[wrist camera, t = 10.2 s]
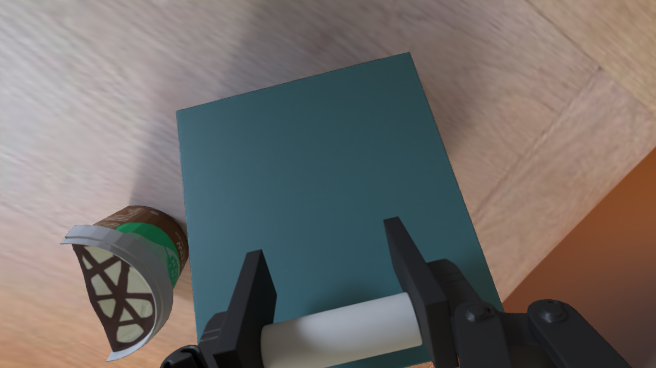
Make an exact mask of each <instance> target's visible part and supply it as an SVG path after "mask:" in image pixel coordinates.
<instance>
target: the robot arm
mask: <svg viewBox="0 0 656 368" xmlns="http://www.w3.org/2000/svg"><path fill="white" fill-rule="evenodd" d="M383 222H384V227H385V232H386V237H387V241H388V246H389V251H390V256H391V261H392V265H393V269H394V271H395V274H396V276H397V279H398V281H399V283H400V286H401V288H402V290H403V293H404V292H406V293H408V294H409V296H410V298H411V300H412V303H413V305H414V308H415V311H416V314H417V318H418V321H419V325H420V329H421V334H422V338H423V340H424V343H425V345H426V348H427V350H428V352H429V355H430V357H431V360H432V362H433V364H434V367H435V368H457V367H459V363H458V358H459V361H460V368H632V367H631V366H630V365H629V364H628V363H627V362H626V361H625V360H624V359H623V358H622V357H621V356H620V355H619V354H618V353H617V351H615V350H614V348H612V346H611V345H610V344H609V343H608V342H607V341H606V340H605V339H604V338H603V337H602V336H601V335H600V334H599V333H598V332H597V331H596V330H595V329H594V328H593V327H592V326H591V325H590V324H589V323H588V322H587V321H586V320H585V319H584V318H583V317H582V316H581V315H580V314H579V313H578V312H577V311H576V310H575V309H574V308H573V307H571V306H570V305H569V304H566V303H563V302H561V301H557V300H551V299H545V300H538V301H535V302H533V303H532V304H531V305H529V307H528V311H527V313H505V312H501V311H498V310H497V309H496V307H494V306H493V305H492V304H490V303H488V302H485V301H482V299H481V298H480V297H479V295H478V294H477V293H476V291H475V290H474V289H473V287H472V286H471V285H470V283H469V282H468V281H467V279H465V277H464V275H463V274H462V273H461V271H460V270H459V269H458V267H457V266H456V265H455V264H454V263H453V262H451V261H449V260H447V259H445V258H444V259H440V260H436V261H432V262H427V263H426V261H425V260H424V258H423V256H422V255H421V253H420V251H419V250H418V248H417V246H416V245H415V243H414V241H413V240H412V238H411V236H410V235H409V233H408V231H407V230H406V228H405V226H404V225H403V223H402V221H401V220H400V218H399V216H397V217H393V218H388V219H384V220H383ZM276 301H277V293H276V290H275V287H274V284H273V281H272V278H271V275H270V272H269V269H268V266H267V263H266V260H265V257H264V254H263V251H262V249H259V250H255V251H251V252H247V254H246V257H245V259H244V262H243V265H242V268H241V271H240V274H239V277H238V280H237V283H236V286H235V289H234V292H233V295H232V298H231V301H230V304H229V306H228V309H227V311H224V312H219V313H215V314H214V315H213V316H212V318H211V319H210V320H209V321H208V322H207V324H206V326H205V329H204V331H203V335H202V336H201V338H200V342H199V343H198V346H197V345H187V346H184V347H181V348H179V349H177V350H176V351H174V352H173V353H171V354H170V355H169V356H168V357H166V359H165V360H164V361H163V363H162V364H161V366H160V368H264V366H263V361H262V356H261V346H260V339H261V331H262V328H263V327H264V326H265V325H269V324H273V322H274V315H275V308H276ZM457 356H458V357H457Z"/></svg>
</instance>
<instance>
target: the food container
mask: <svg viewBox="0 0 656 368" xmlns="http://www.w3.org/2000/svg"><path fill="white" fill-rule="evenodd" d="M65 238H66V239H65V240H64V241H62V242H61V243H60V244H72V247H73V250H74V251H75V253H76V255H77V258H78V260H79V263H80V266H81V269H82V272H83V275H84V279H85V283H86V288H87V292H88V295H89V299H90V302H91V304H92V306H93V308H94V310H95V312H96V314H97V316H98V317H99V319H100V321H101V323H102V325H103V327H104V330H105V332H106V335H107V338H108V340H109V343H110V346H111V348H112V352H111V354H110V356H109V357H108V359H107V361H106V362H109V361H114V360H118V359H121V358H123V357H126V356H128V355H130V354H132V353H134V352H135V351H136V350H138V349H140V348H141V347H143V346H144V345H145V344H147V343H148V342H149V341H150V340H151V339H152V338H153V337H154V336H155V335H156V334H157V332H158V331H159V330H160V329H161V328H162V327H163V326H164V324H165V323H166V321H167V320H168V318H169V315H170V313H171V310H172V305H173V289H174V287H175V285H176V282H177V280H178V278H179V276H180V274H181V271H182V269H183V267H184V265H185V262H186V260H187V258H188V249H189V246H188V241H187V238H186V235H185V233H184V232H183V230H182V228H181V227H180V226H179V224H178V223H177V222H176V221H175V220H174V219H172V218H171V217H170V216H168V215H167V214H165V213H163V212H161V211H159V210H156V209H154V208H150V207H145V206H128V207H126V208H124V209H122V210H120V211H118V212H116V213H114V214H112V215H111V216H109V217H107V218H105V219H103V220H101V221H99V222H97V223H95V224H93V225H75V226H74V227H73V228H72V229H71V230H70V231H69V232H68V233H67V234H66V235H65Z"/></svg>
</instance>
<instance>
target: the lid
mask: <svg viewBox="0 0 656 368" xmlns="http://www.w3.org/2000/svg"><path fill="white" fill-rule="evenodd" d="M176 116H177V127H178V138H179V148H180V159H181V170H182V181H183V191H184V202H185V213H186V224H187V234H188V245H189V256H190V267H191V277H192V288H193V299H194V310H195V320H196V331H197V342H198V343H199V342H200V338H201V336H202V335H203V331H204V329H205V326H206V324H207V322H208V321H209V320H210V319H211V318H212V316H213V315H214V314H215V313H219V312H224V311H227V309H228V306H229V304H230V301H231V298H232V295H233V292H234V289H235V286H236V283H237V280H238V277H239V274H240V271H241V268H242V265H243V262H244V259H245V257H246V254H247V252H251V251H255V250H259V249H262V251H263V254H264V257H265V260H266V263H267V266H268V269H269V272H270V275H271V278H272V281H273V284H274V287H275V290H276V293H277V301H276V308H275V315H274V322H273V324H269V325H265V326H264V327H263V328H262V331H261V339H260V346H261V356H262V361H263V366H264V368H404V367H409V366H413V365H417V364H422V363H426V362H430V361H432V360H431V357H430V355H429V352H428V350H427V348H426V345H425V343H424V340H423V338H422V334H421V329H420V325H419V321H418V318H417V314H416V311H415V308H414V305H413V303H412V300H411V298H410V296H409V294H408V293H406V292H404V293H403V290H402V288H401V286H400V283H399V281H398V279H397V276H396V274H395V271H394V269H393V265H392V261H391V256H390V251H389V246H388V241H387V237H386V232H385V227H384V222H383V220H384V219H388V218H393V217H397V216H399V218H400V220H401V221H402V223H403V225H404V226H405V228H406V230H407V231H408V233H409V235H410V236H411V238H412V240H413V241H414V243H415V245H416V246H417V248H418V250H419V251H420V253H421V255H422V256H423V258H424V260H425V261H426V263H427V262H432V261H436V260H440V259H444V258H445V259H447V260H449V261H451V262H453V263H454V264H455V265H456V266H457V267H458V269H459V270H460V271H461V273H462V274H463V275H464V277H465V279H467V281H468V282H469V283H470V285H471V286H472V287H473V289H474V290H475V291H476V293H477V294H478V295H479V297H480V298H481V299H482V301H485V302H488V303H490V304H492V305H493V306H494V307H496V309H497V310H498V311H501V312H504V309H503V306H502V304H501V301H500V298H499V295H498V293H497V290H496V287H495V284H494V282H493V279H492V276H491V273H490V271H489V268H488V265H487V262H486V260H485V257H484V254H483V252H482V249H481V246H480V243H479V241H478V238H477V235H476V232H475V230H474V227H473V224H472V221H471V219H470V216H469V213H468V210H467V208H466V205H465V202H464V200H463V197H462V194H461V191H460V189H459V186H458V183H457V180H456V178H455V175H454V172H453V169H452V167H451V164H450V161H449V158H448V156H447V153H446V150H445V148H444V145H443V142H442V139H441V137H440V134H439V131H438V128H437V126H436V123H435V120H434V117H433V115H432V112H431V109H430V106H429V104H428V101H427V98H426V96H425V93H424V90H423V87H422V85H421V82H420V79H419V76H418V74H417V71H416V68H415V65H414V63H413V60H412V57H411V54H410V52H406V53H402V54H398V55H394V56H390V57H387V58H383V59H379V60H375V61H371V62H367V63H363V64H359V65H355V66H351V67H347V68H343V69H339V70H335V71H331V72H328V73H324V74H320V75H316V76H312V77H308V78H304V79H300V80H296V81H292V82H288V83H284V84H280V85H276V86H273V87H269V88H265V89H261V90H257V91H253V92H249V93H245V94H241V95H237V96H233V97H229V98H225V99H221V100H217V101H214V102H210V103H206V104H202V105H198V106H194V107H190V108H186V109H182V110H178V111H176Z"/></svg>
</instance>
